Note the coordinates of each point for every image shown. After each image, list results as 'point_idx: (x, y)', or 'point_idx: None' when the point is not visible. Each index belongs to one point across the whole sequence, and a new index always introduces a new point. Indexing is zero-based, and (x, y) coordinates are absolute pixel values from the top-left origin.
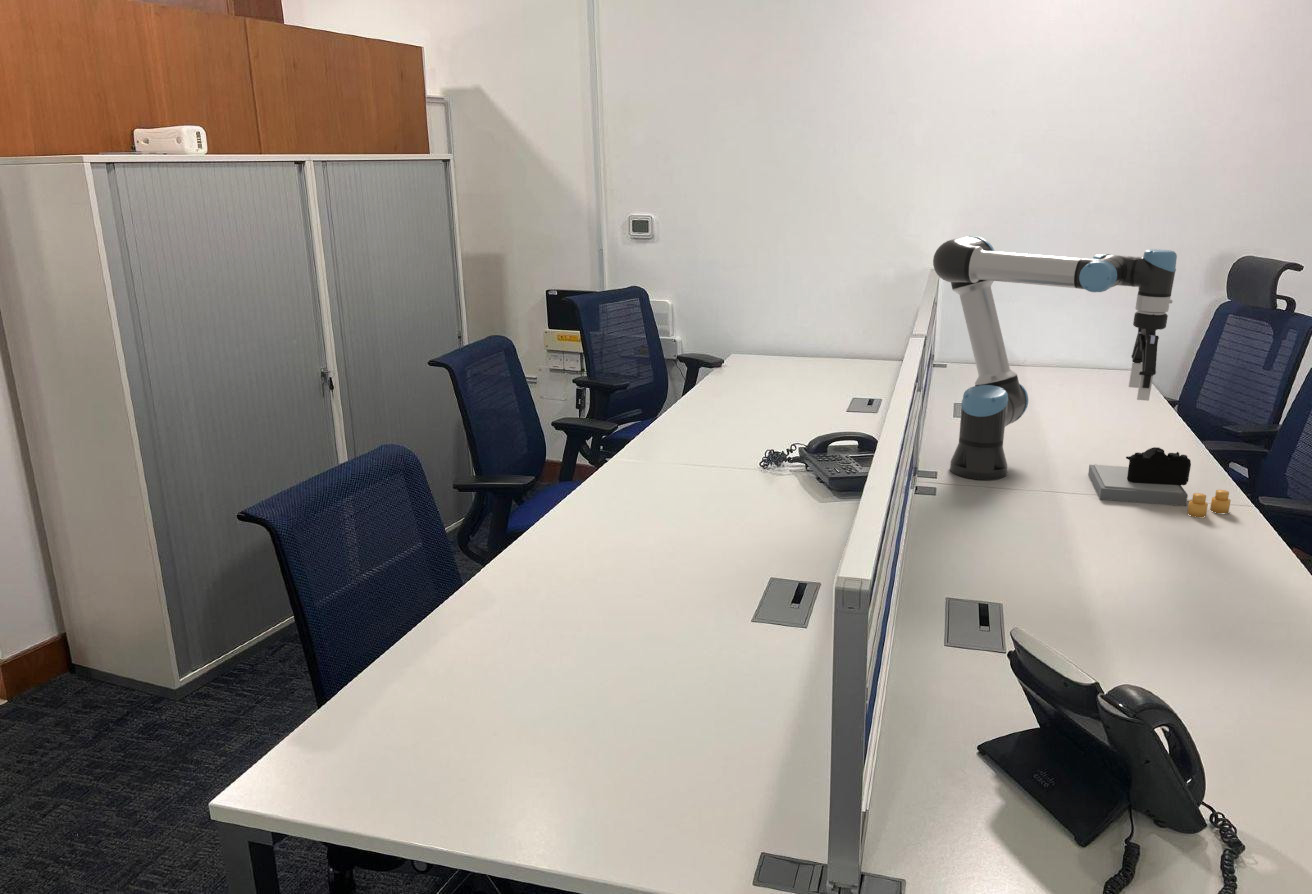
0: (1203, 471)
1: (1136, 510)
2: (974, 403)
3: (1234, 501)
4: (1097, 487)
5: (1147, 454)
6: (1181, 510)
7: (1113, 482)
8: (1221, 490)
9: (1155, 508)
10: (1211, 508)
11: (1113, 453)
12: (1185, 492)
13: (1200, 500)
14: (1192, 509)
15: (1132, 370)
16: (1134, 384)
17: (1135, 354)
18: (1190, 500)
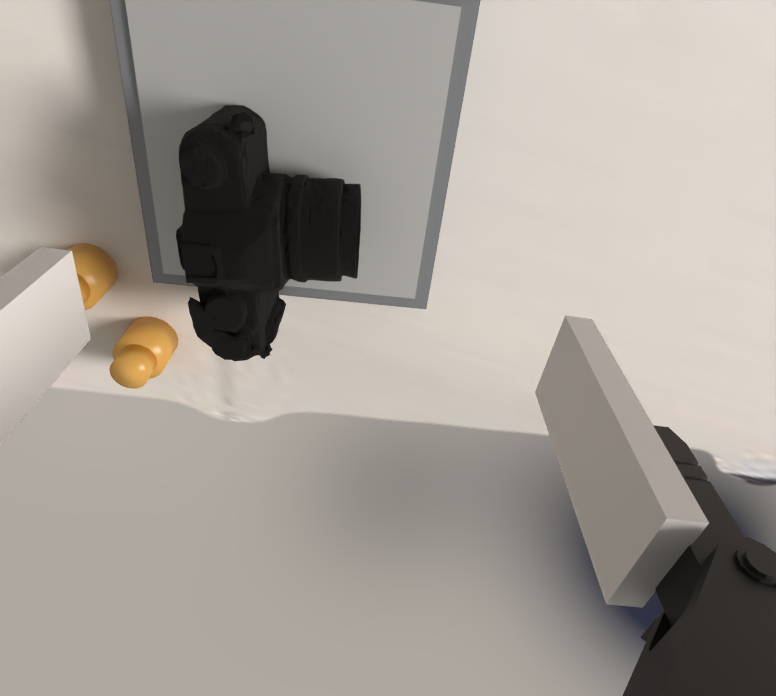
0: (520, 407)
1: (44, 74)
2: None
3: (257, 396)
4: None
5: (226, 214)
6: (116, 237)
7: (190, 26)
8: (138, 374)
9: (101, 157)
10: (140, 321)
11: (758, 199)
12: (176, 282)
13: None
14: None
15: (624, 444)
16: (558, 370)
17: (674, 687)
18: (83, 270)
